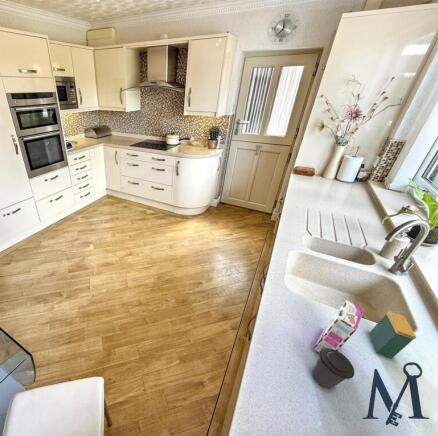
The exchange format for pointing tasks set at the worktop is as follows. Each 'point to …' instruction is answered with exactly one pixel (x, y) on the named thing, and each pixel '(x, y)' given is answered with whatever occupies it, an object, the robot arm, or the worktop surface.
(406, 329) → the carton
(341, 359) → the coffee cup
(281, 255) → the worktop surface
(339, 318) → the candy bar box
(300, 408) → the worktop surface
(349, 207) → the worktop surface
